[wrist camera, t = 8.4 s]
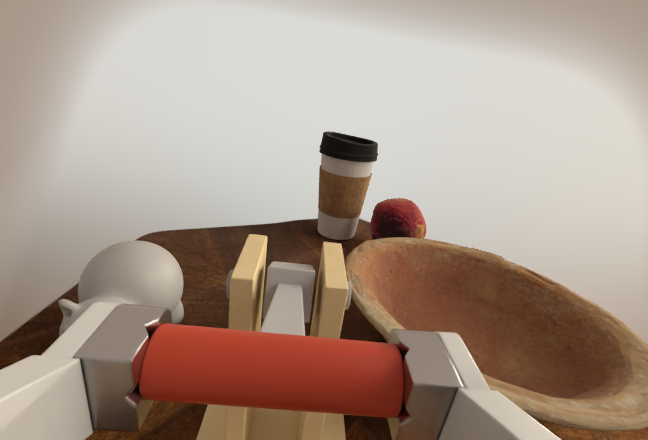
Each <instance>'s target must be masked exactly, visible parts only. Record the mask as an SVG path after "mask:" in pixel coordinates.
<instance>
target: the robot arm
mask: <svg viewBox="0 0 648 440" xmlns="http://www.w3.org/2000/svg"><path fill="white" fill-rule="evenodd" d="M166 323H167V324H172V316H171V311H170V310H169V309H168V308H160V307H151V306H142V305H133V304H124V303H123V304H120V303H112V302H102V301H98V302H96V303H93V304H91V305H90V306H89V307H88V308H87V309H86V310H85V311H84V312H83V313H82V314H81V315H80V316H79V317H78V318H77V320H76V321H75V322H74V323H73V324H72V325H71V326H70V327H69V328H68V329H67V330H66V331H65V332H64V333H63V334H62V335H61V336H60V337H59V338H58V339H57V340H56V341H55V342H54V343H53V344H52V345H51V346H50V347H49V348H48V349H47V350H46V351H45V352H44V353H43V354H42V355H41V356H38V355H32V356H29V357H27V358H25V359H23V360H21V361H18V362H16V363H14V364H12V365H10V366H8V367H5V368H3V369H1V370H0V440H85V439H86V438H87V437H89V436H90V435H91V434H92V433H93V430H106V431H136V432H139V430H140V428H141V426H142V424H143V422H144V420H145V418H146V416H147V414H148V412H149V410H150V408H151V406H152V404H153V402H154V400H146V399H144V398H143V397H142V396H141V394H140V390H139V381H140V377H141V370H142V365H143V360H144V357H145V353H146V350H147V347H148V345H149V341H150V339H151V337H152V335H153V333H154V332H155V330H156V329H157V328H158V327H159V326H161V325H162V324H166ZM388 343H392V344H394V345H396V346H397V347H398V349H399V351H400V353H401V357H402V361H403V371H404V395H403V404H402V408H401V411H400V413H399V415H398V416H397V417H394V418H387V419H388V423H389V428H390V432H391V437H392V440H561V439H560V438H558V437H557V436H556V435H554V434H553V433H552V432H550V431H549V430H548V429H547V428H545V427H544V426H543V425H541V424H540V423H539V422H537V421H536V420H535V419H534V418H532V417H531V416H530V415H528V414H527V413H526V412H525V411H523V410H522V409H521V408H519V407H518V406H517V405H515V404H514V403H513V402H512V401H510V400H509V399H508V398H506V397H505V396H504V395H502V394H501V393H500V392H499V391H493V390H490V388H489V386H488V384H487V383H486V381H485V379H484V377H483V375H482V374H481V372H480V370H479V368H478V367H477V365H476V363H475V361H474V360H473V358H472V356H471V354H470V353H469V351H468V349H467V347H466V346H465V344H464V342H463V340H462V339H461V337H460V336H459V335H458V334H457V333H452V332H436V331H435V332H429V331H417V330H405V329H392V331H391V332H390V335H389V338H388Z"/></svg>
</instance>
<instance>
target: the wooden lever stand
mask: <svg viewBox="0 0 648 440" xmlns="http://www.w3.org/2000/svg"><path fill="white" fill-rule="evenodd" d="M266 249H267V236H263V235H254V234H249V236H248V238H247V240H246V243H245V245H244V247H243V250H242V252H241V254H240V256H239V259H238V261H237V263H236V266H235V268H234V270H230V272H229V275H228V278H227V283H226V297H227V298H229V299H230V301H229V329H235V330H246V331H257V332H259V331H260V328H261V315H262V302H263V289H264V275H265V262H266ZM350 302H351V283H350V282H349V281H347V277H346V271H345V264H344V258H343V251H342V245H341V244H339V243H330V242H323V247H322V254H321V261H320V268H319V275H318V282H317V289H316V296H315V303H314V310H313V317H312V323H311V330H310V336H314V337H325V338H336V339H339V338H340V332H341V327H342V322H343V316H344V311H345V310H348V309H349V306H350ZM196 440H346V437H345V425H344V414H331V413H317V412H303V411H290V410H276V409H263V408H249V407H235V406H222V405H208V406H207V409H206V412H205V415H204V418H203V421H202V424H201V427H200V430H199V433H198V436H197V439H196Z"/></svg>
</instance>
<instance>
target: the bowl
mask: <svg viewBox="0 0 648 440" xmlns="http://www.w3.org/2000/svg"><path fill="white" fill-rule="evenodd" d="M344 264H345V271H346V277H347V281H349V282H350V283H351V297H352V299H353V300H354V302H355V304H356V305H357V307H358V308H359V310H360V311H361V312H362V314H363V315H364V316H365V317H366V318H367V319H368V321H369V322H370V323H371V324H372V325H373V326H374V327H375V328H376V329H377V330H378V331H379V332H380V334H382V335H383V337H384V339H385V340H386V342H387V343H388V338H389V335H390V332H391V331H392V329H405V330H417V331H429V332H435V331H436V332H452V333H457V334H458V335H459V336H460V337H461V339H462V340H463V342H464V344H465V346H466V347H467V349H468V351H469V353H470V354H471V356H472V358H473V360H474V361H475V363H476V365H477V367H478V368H479V370H480V372H481V374H482V375H483V377H484V379H485V381H486V383H487V384H488V386H489V388H490V390H493V391H499V392H500V393H501V394H502V395H504V396H505V397H506V398H508V399H509V400H510V401H512V402H513V403H514V404H515V405H517V406H518V407H519V408H521V409H522V410H523V411H525V412H526V413H527V414H528V415H530V416H531V417H532V418H534V419H535V420H536V421H544V422H548V423H552V424H557V425H561V426H566V427H571V428H578V429H584V430H596V431H635V430H638V429H642V428H645V427H648V345H647V344H646V343H645V342H644V341H643V340H642V339H641V338H640V337H639V336H637V335H636V334H635V333H634V332H633V331H632V330H631V329H629V328H628V327H627V326H626V325H625V324H624V323H622V322H621V321H620V320H618V319H617V318H616V317H614V316H613V315H612V314H610V313H609V312H607V311H606V310H604V309H603V308H601V307H600V306H598V305H597V304H595V303H593V302H591V301H588V300H586V299H585V298H583V297H581V296H579V295H578V294H576V293H574V292H572V291H571V290H569V289H567V288H566V287H564V286H562V285H560V284H558V283H556V282H554V281H552V280H550V279H548V278H547V277H545V276H542V275H540V274H538V273H536V272H534V271H531V270H529V269H527V268H524V267H522V266H519V265H517V264H515V263H512V262H509V261H506V260H505V259H504V258H502V257H501V256H498V255H495V254H492V253H489V252H485V251H481V250H478V249H474V248H468V247H463V246H458V245H454V244H450V243H445V242H440V241H435V240H429V239H422V238H409V237H391V238H381V239H376V240H367V241H364V242H363V243H362V244H360V245H359V246H358V247H356V248H355V249H353V250H352V251H351V252H350V254H349V255H348V256H347V258H346V260H345V263H344Z"/></svg>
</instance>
